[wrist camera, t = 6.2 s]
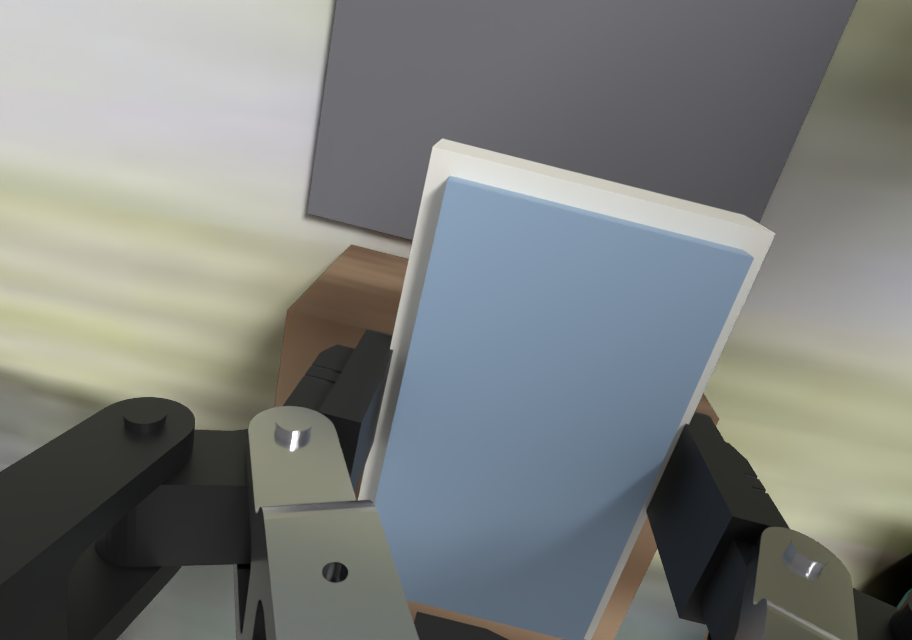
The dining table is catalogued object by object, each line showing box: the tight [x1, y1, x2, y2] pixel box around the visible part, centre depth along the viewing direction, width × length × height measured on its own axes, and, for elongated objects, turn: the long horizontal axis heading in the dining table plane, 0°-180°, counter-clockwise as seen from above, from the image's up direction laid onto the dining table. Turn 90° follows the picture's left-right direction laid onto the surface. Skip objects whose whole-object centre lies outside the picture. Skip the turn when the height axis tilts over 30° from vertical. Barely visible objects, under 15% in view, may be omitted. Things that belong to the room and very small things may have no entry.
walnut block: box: [275, 245, 719, 640], centre depth 25 cm, size 12×14×8 cm
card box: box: [358, 138, 776, 640], centre depth 12 cm, size 10×6×2 cm, turn 167°
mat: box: [307, 0, 857, 240], centre depth 23 cm, size 14×18×1 cm
